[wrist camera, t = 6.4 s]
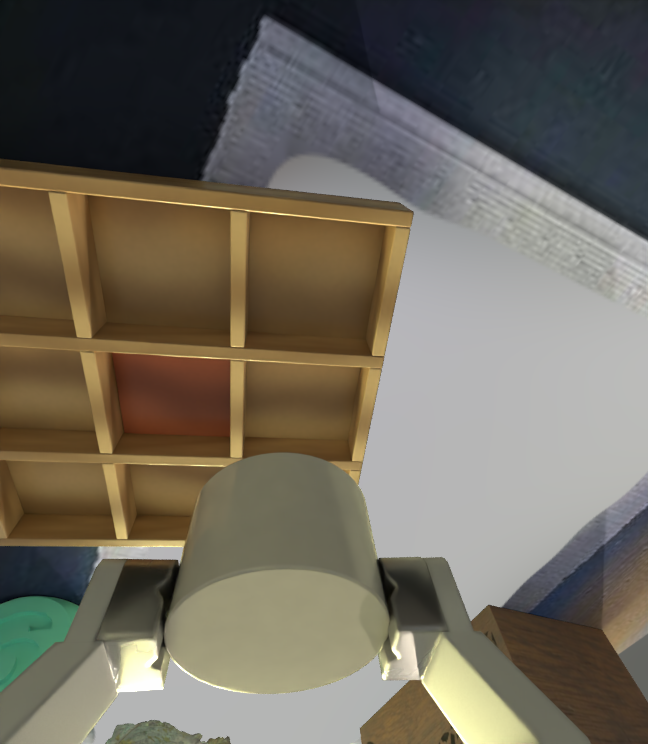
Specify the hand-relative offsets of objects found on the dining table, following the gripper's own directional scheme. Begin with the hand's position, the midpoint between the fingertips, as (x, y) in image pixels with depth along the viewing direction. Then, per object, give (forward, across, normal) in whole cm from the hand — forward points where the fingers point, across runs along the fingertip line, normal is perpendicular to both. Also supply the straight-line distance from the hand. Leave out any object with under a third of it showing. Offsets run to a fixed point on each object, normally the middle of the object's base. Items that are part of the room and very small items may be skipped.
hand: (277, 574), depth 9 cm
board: (+15, +6, +5) cm, 17 cm away
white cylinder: (+2, 0, 0) cm, 2 cm away
